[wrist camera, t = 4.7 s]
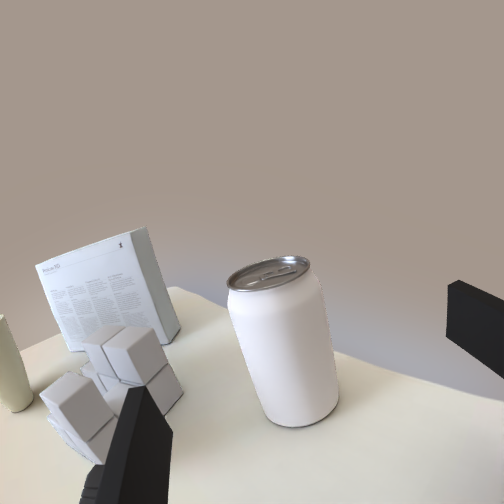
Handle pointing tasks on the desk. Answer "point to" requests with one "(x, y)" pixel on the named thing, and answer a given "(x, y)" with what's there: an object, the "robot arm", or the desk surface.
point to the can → (285, 339)
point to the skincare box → (108, 289)
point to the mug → (12, 373)
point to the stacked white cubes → (108, 387)
